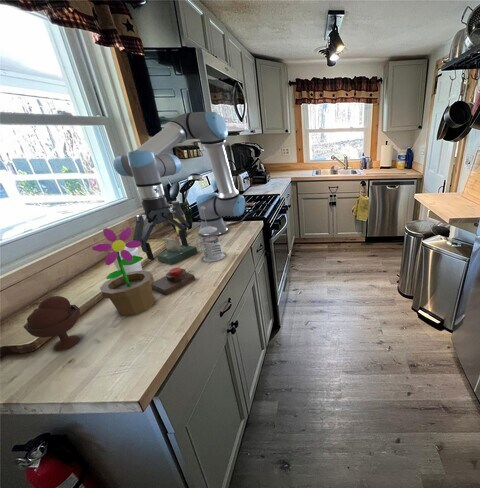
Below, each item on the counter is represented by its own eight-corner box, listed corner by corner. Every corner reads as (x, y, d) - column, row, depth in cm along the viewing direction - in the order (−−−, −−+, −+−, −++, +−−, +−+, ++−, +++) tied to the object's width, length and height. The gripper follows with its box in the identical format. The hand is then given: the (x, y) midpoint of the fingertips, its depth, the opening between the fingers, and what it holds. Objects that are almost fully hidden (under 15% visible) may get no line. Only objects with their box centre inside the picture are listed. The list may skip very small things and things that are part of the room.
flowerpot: (124, 325, 81) (86, 236, 69) (103, 312, 87) (64, 228, 75) (169, 300, 92) (142, 220, 80) (146, 290, 99) (119, 215, 87)
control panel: (184, 249, 134) (182, 243, 133) (198, 252, 129) (196, 247, 128) (157, 260, 123) (155, 254, 121) (171, 264, 118) (169, 258, 117)
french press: (229, 254, 126) (219, 204, 116) (210, 265, 117) (197, 211, 107) (214, 251, 130) (203, 202, 120) (195, 261, 120) (181, 209, 110)
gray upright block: (167, 252, 124) (163, 238, 121) (170, 250, 126) (166, 236, 123) (179, 253, 122) (175, 238, 119) (182, 251, 124) (178, 237, 121)
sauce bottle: (184, 236, 151) (175, 203, 143) (175, 236, 152) (165, 203, 144) (191, 232, 157) (183, 200, 149) (182, 232, 158) (174, 200, 150)
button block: (179, 274, 110) (177, 266, 108) (195, 279, 105) (193, 270, 104) (151, 288, 100) (148, 279, 98) (167, 294, 96) (164, 285, 94)
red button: (177, 270, 105) (176, 266, 105) (184, 272, 103) (182, 268, 103) (168, 274, 102) (167, 271, 101) (174, 277, 100) (173, 273, 100)
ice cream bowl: (62, 331, 79) (39, 290, 73) (100, 328, 80) (80, 287, 74) (29, 359, 69) (-1, 314, 63) (73, 356, 70) (47, 311, 64)
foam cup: (152, 275, 109) (143, 247, 104) (131, 286, 101) (120, 257, 96) (136, 272, 112) (126, 245, 107) (115, 283, 104) (103, 254, 99)
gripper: (119, 207, 79) (140, 268, 87) (191, 191, 99) (203, 242, 107) (106, 204, 82) (128, 263, 91) (179, 189, 102) (191, 239, 111)
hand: (169, 252), depth 99 cm, fingers open, 13 cm apart
